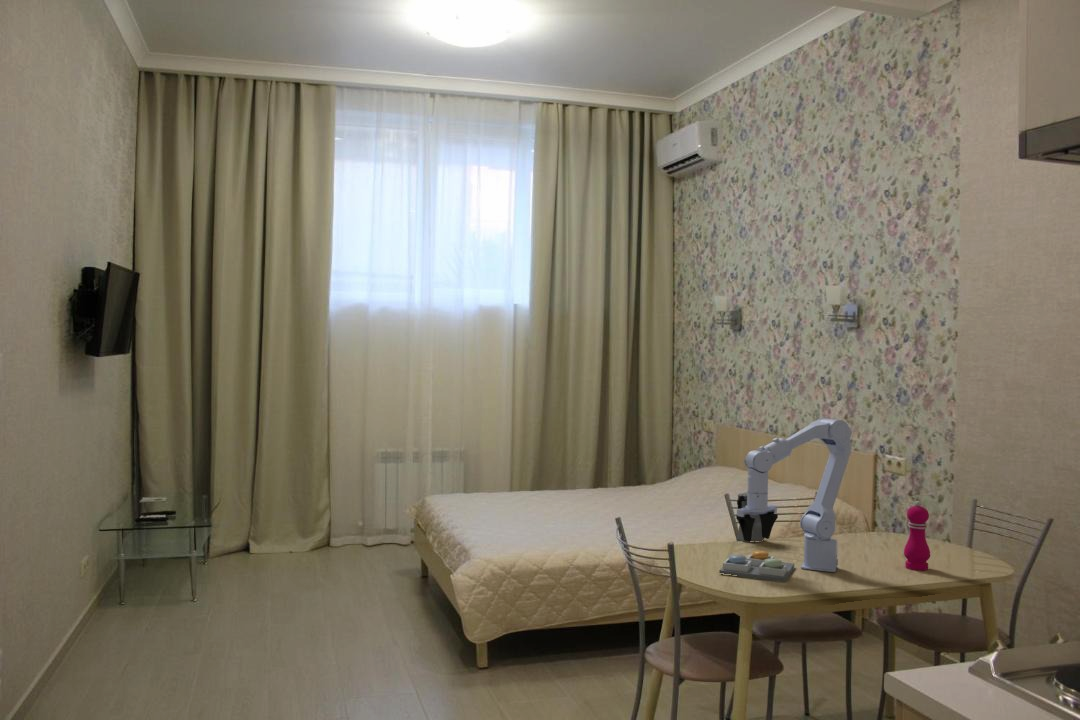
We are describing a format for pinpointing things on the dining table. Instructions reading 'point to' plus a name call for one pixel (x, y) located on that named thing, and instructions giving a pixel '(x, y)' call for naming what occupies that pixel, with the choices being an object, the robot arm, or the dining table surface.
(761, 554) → the button orange
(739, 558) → the button blue
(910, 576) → the dining table surface
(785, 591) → the dining table surface
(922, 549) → the pepper mill
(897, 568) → the dining table surface
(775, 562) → the button sage
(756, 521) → the coffeepot
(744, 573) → the control board
